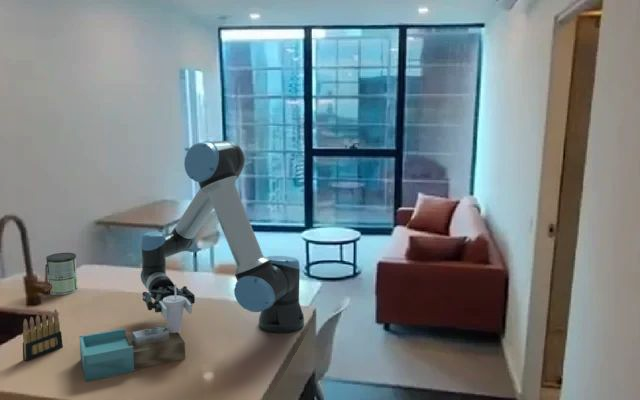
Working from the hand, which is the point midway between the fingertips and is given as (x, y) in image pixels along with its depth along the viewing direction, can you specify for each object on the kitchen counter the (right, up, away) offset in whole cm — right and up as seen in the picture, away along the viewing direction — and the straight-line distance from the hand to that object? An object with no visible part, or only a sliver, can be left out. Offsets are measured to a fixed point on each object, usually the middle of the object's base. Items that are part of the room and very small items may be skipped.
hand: (178, 311), depth 143 cm
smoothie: (-3, -7, +6) cm, 9 cm away
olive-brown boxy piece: (-7, -13, +2) cm, 15 cm away
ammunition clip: (-40, -13, +2) cm, 42 cm away
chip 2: (-6, -8, +2) cm, 11 cm away
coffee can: (-60, -4, +54) cm, 81 cm away
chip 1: (-10, -9, 0) cm, 13 cm away
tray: (-19, -14, -4) cm, 24 cm away
